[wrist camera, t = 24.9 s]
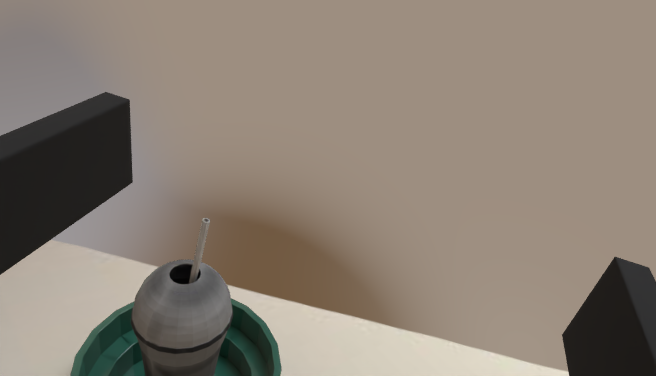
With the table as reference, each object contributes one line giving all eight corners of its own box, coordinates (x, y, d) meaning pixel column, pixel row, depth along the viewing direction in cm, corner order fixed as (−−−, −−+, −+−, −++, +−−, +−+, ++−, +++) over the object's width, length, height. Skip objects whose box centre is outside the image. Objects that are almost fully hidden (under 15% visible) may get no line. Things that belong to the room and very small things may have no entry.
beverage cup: (130, 378, 42) (121, 194, 31) (212, 359, 45) (228, 186, 35) (139, 458, 36) (132, 268, 26) (231, 430, 40) (258, 250, 29)
